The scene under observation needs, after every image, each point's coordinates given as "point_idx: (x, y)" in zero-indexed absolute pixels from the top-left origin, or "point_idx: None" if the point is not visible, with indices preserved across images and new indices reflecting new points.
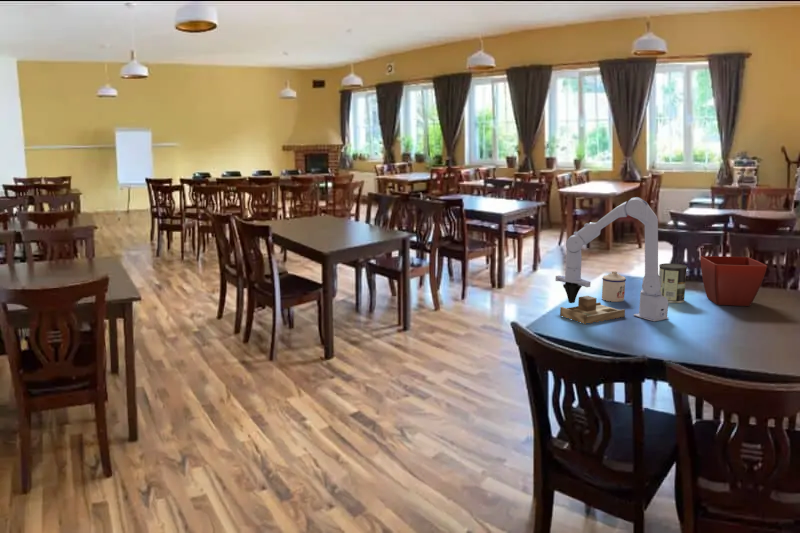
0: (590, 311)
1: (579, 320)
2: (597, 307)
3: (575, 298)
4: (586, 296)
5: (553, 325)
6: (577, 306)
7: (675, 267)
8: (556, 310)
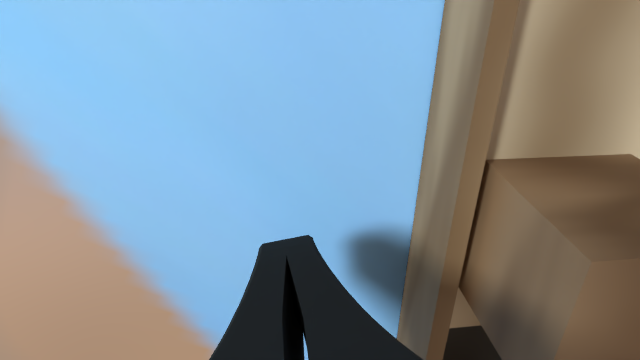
0: None
1: None
2: (591, 38)
3: (325, 267)
4: (603, 307)
5: None
6: (444, 291)
7: None
8: (213, 327)
